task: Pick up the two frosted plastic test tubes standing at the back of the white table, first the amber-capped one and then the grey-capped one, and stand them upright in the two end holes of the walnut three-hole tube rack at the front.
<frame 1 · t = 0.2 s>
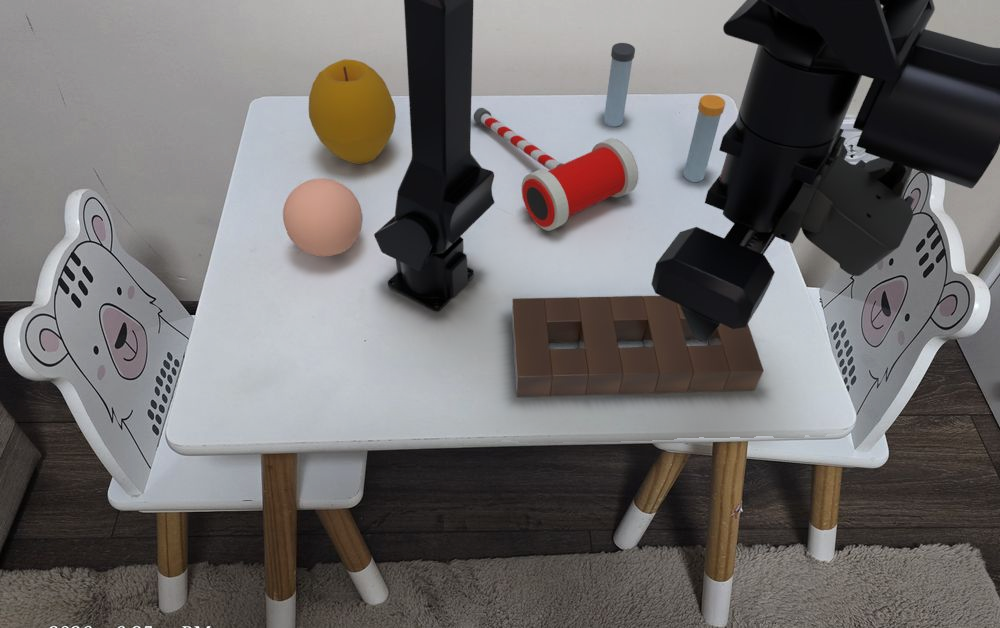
hand: (725, 298, 56), 15 cm above the table, tool pointing down, fingers open, 9 cm apart
apple: (359, 155, 91), on the table
tube grey: (613, 121, 96), on the table
toy hammer: (543, 180, 88), on the table
toy ball: (330, 247, 80), on the table
rack: (628, 353, 71), on the table
tube amber: (693, 175, 89), on the table
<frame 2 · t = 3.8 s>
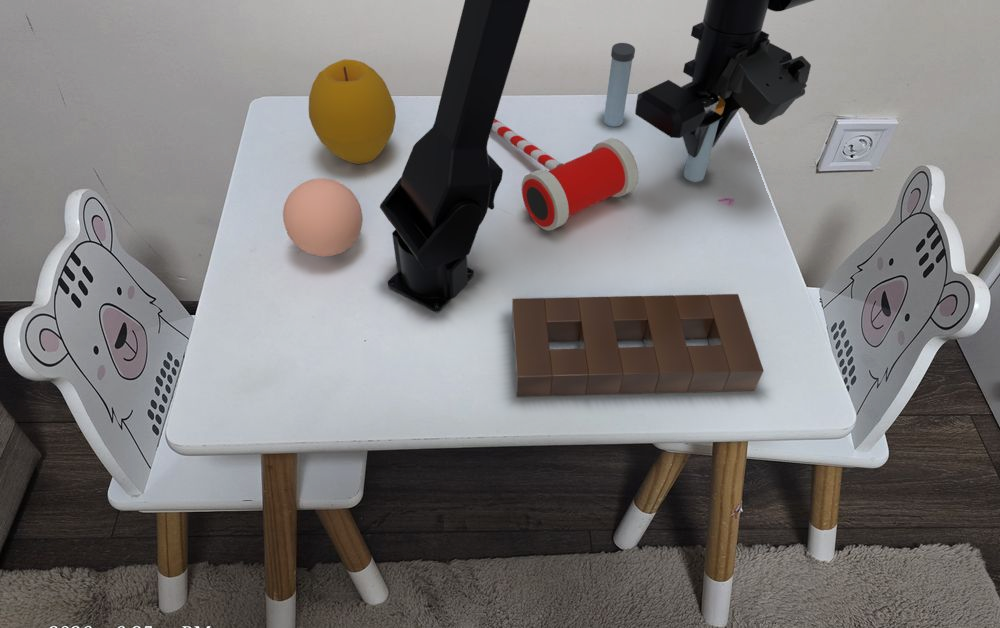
hand: (700, 151, 86), 4 cm above the table, tool pointing down, fingers closed on tube amber, 2 cm apart
tube amber: (693, 175, 89), on the table, touching gripper
everything else where it was.
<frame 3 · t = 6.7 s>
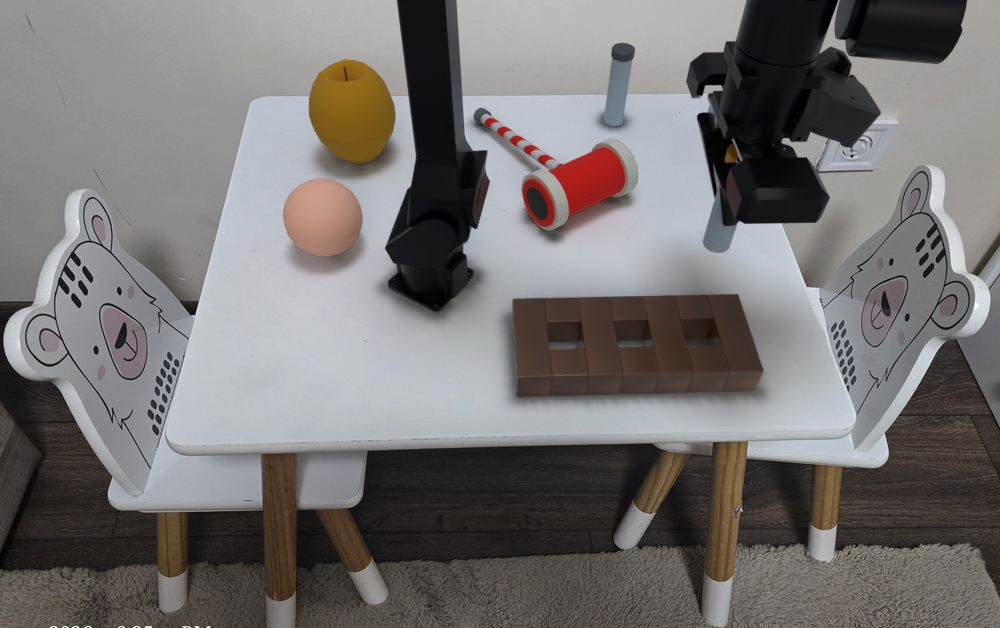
hand: (725, 214, 65), 13 cm above the table, tool pointing down, fingers closed on tube amber, 2 cm apart
tube amber: (716, 243, 67), point 9 cm above the table, touching gripper
everything else where it was.
when the fingers open (3 cm above the table, at t = 9.5 s): tube amber stays where it is, resting in rack.
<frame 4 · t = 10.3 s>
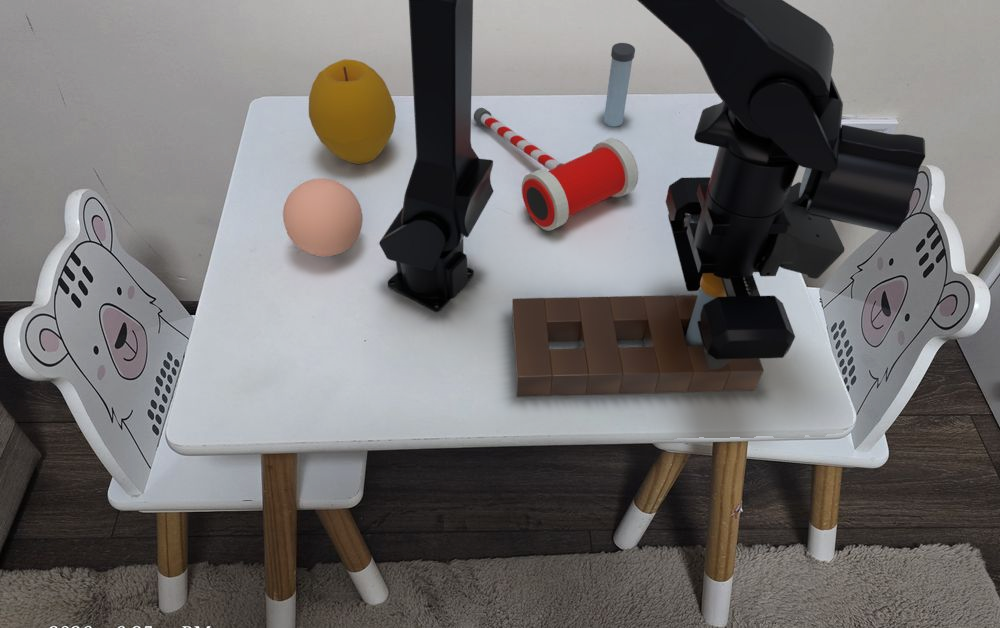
hand: (702, 326, 68), 4 cm above the table, tool pointing down, fingers open, 9 cm apart
tube amber: (694, 351, 71), resting in rack
everything else where it was.
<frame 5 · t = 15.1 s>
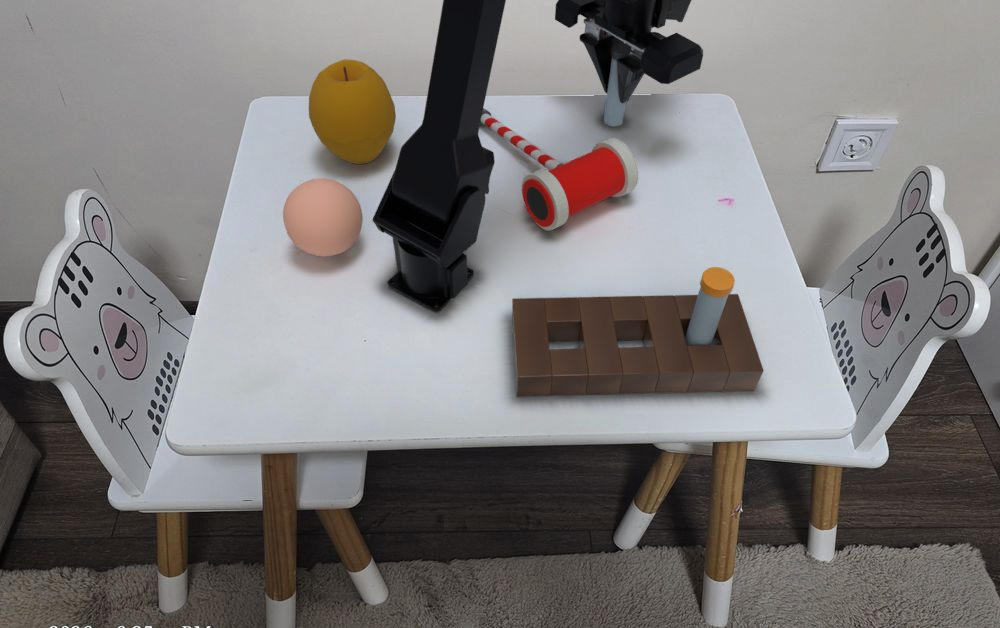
hand: (616, 96, 93), 4 cm above the table, tool pointing down, fingers closed on tube grey, 2 cm apart
tube grey: (613, 121, 96), on the table, touching gripper
everything else where it was.
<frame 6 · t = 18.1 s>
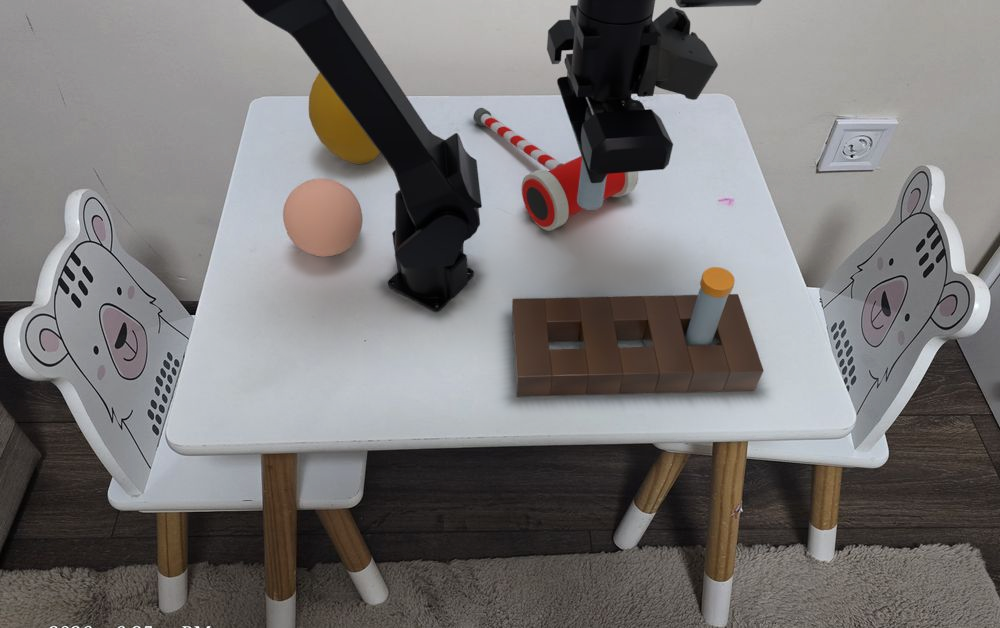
hand: (592, 172, 68), 13 cm above the table, tool pointing down, fingers closed on tube grey, 2 cm apart
tube grey: (589, 201, 71), point 9 cm above the table, touching gripper
everything else where it was.
when the fingers open (3 cm above the table, at t = 21.3 s): tube grey stays where it is, resting in rack.
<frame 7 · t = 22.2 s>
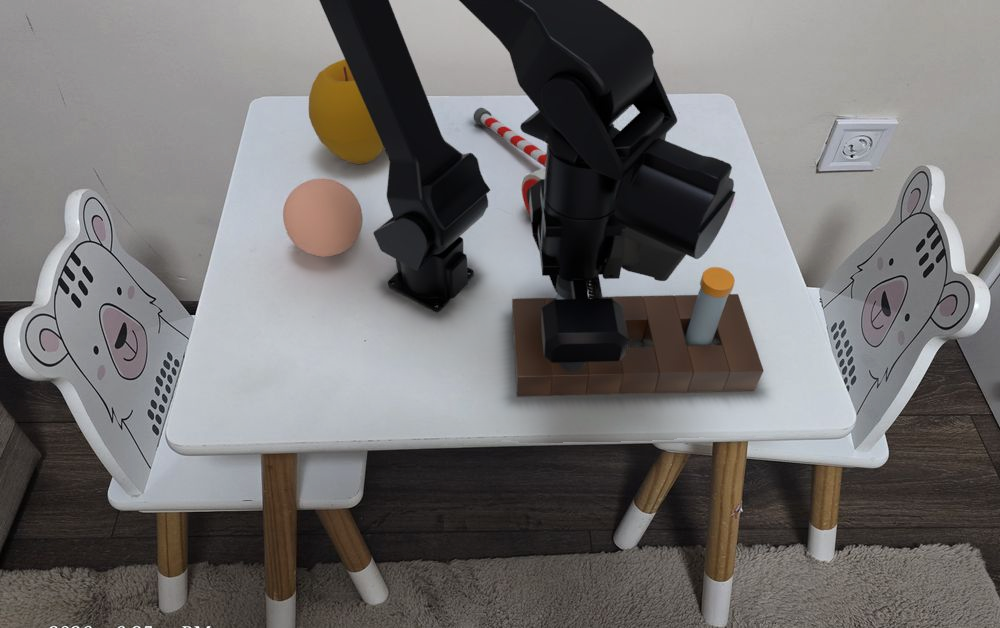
hand: (566, 329, 68), 4 cm above the table, tool pointing down, fingers open, 9 cm apart
tube grey: (564, 354, 71), resting in rack
everything else where it was.
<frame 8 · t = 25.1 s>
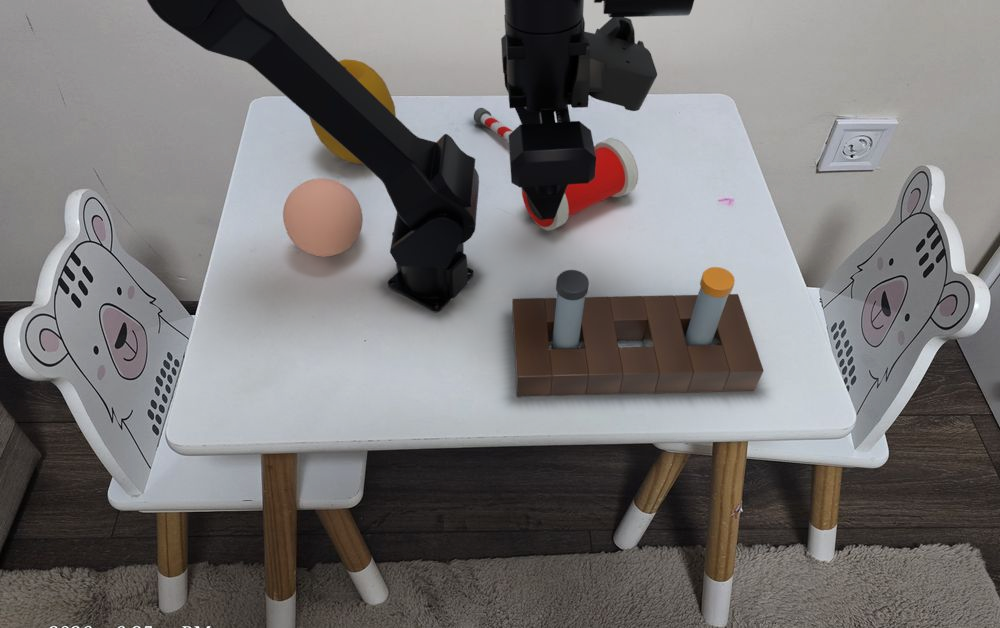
hand: (544, 183, 67), 13 cm above the table, tool pointing down, fingers open, 9 cm apart
nothing on the table moved.
at the end: tube amber 0.0 cm from the target spot in the rack, point 0.0 cm above the rack's base; tube grey 0.2 cm from the target spot in the rack, point 0.0 cm above the rack's base; tube grey tilted 0° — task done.
